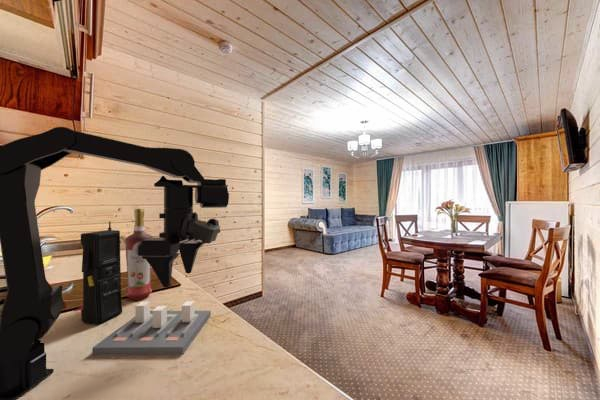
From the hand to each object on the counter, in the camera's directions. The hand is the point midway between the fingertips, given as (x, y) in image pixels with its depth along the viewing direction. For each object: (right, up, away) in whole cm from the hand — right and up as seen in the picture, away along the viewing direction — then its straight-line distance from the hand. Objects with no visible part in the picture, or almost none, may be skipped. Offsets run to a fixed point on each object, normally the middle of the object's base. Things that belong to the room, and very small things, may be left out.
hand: (178, 279), depth 54 cm
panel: (-6, -14, +3) cm, 15 cm away
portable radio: (-25, -14, +10) cm, 30 cm away
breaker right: (-1, -12, +6) cm, 13 cm away
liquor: (-24, -14, +24) cm, 37 cm away
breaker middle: (-6, -12, +3) cm, 14 cm away
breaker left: (-12, -12, +6) cm, 18 cm away
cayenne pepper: (-35, -14, +20) cm, 43 cm away
